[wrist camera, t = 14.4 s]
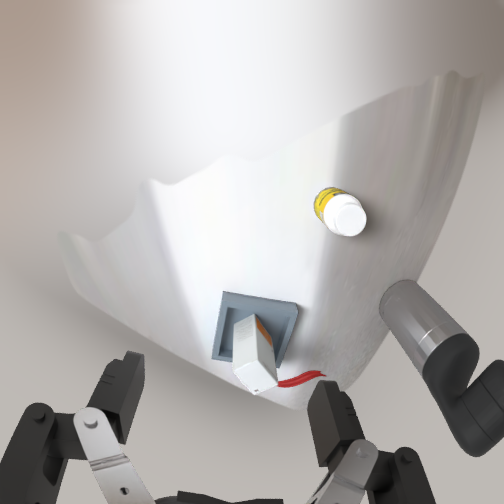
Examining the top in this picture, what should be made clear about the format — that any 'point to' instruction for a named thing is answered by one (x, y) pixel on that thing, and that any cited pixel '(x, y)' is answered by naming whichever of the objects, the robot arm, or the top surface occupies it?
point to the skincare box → (253, 355)
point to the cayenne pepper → (299, 379)
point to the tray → (269, 314)
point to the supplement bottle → (340, 211)
